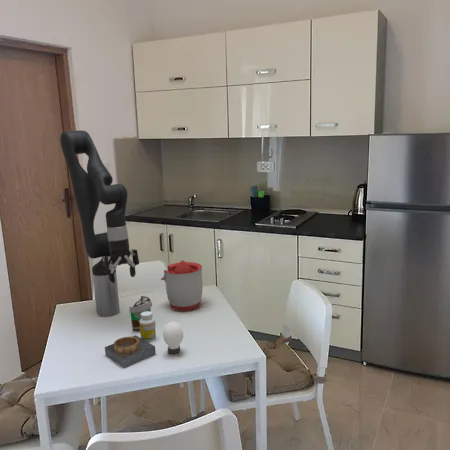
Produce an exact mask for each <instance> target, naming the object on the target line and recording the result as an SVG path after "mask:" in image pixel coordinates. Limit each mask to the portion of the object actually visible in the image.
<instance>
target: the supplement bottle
mask: <svg viewBox="0 0 450 450" xmlns="http://www.w3.org/2000/svg"><path fill="white" fill-rule="evenodd" d="M156 331H157V330H156V319H155V318H154V317H153V312H152V311H151V312H149V311H146V312H142V313H141V319H140V331H139V333H140V338H141V339H143V340H145V341H147V342H148V343H150V342H152V341H154V340H156V338H157V332H156Z"/></svg>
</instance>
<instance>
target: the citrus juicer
mask: <svg viewBox="0 0 450 450" xmlns="http://www.w3.org/2000/svg"><path fill="white" fill-rule="evenodd" d="M202 269H203V266H202V264H200V263H198V262H191V261H185V260H180V262H175V263H171V264H168V265H167V270H166V269H163V276H162V277H161V278H160V281H164V282H165V290H166V295H167V300H168V302H169V305H170V307H171V308H172V310H174V311H180V312H182V311H185V312H186V311H194V310H195V309H197V308H198V307H200V305H201V302H202V296H203V272H202V271H203V270H202Z"/></svg>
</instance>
